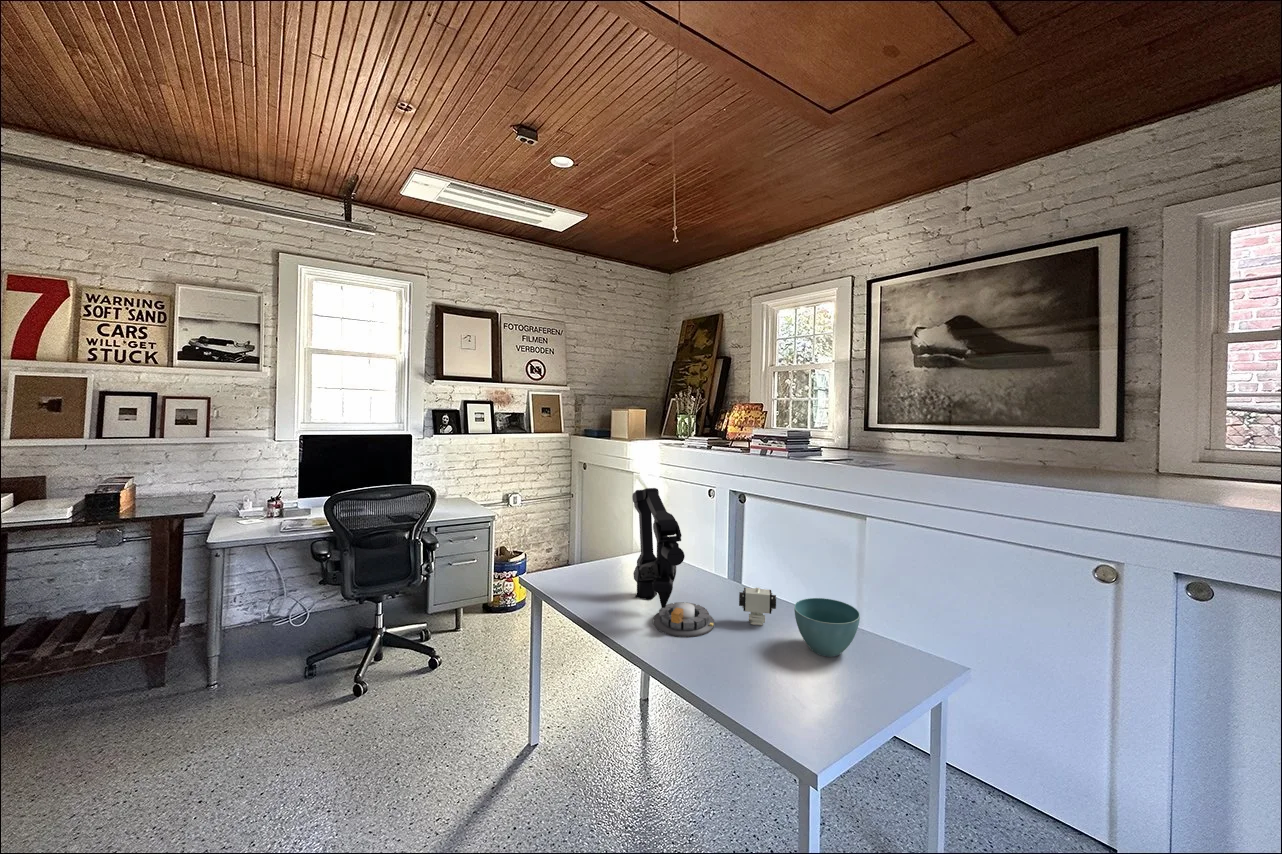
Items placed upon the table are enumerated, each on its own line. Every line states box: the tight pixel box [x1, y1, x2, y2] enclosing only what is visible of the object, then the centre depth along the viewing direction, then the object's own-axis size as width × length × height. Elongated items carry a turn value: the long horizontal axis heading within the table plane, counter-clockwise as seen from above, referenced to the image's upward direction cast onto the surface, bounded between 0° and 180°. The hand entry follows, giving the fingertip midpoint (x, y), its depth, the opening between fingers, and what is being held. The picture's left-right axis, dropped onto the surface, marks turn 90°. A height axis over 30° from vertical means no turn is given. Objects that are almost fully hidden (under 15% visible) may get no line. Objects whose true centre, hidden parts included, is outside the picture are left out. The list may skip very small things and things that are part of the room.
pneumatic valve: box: [738, 587, 777, 627], centre depth 174 cm, size 6×12×12 cm, turn 78°
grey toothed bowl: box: [658, 601, 710, 631], centre depth 173 cm, size 16×17×5 cm
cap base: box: [652, 602, 715, 638], centre depth 173 cm, size 20×20×6 cm
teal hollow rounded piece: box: [793, 597, 861, 658], centre depth 156 cm, size 18×18×12 cm
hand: (664, 601), depth 175 cm, fingers open, 9 cm apart
